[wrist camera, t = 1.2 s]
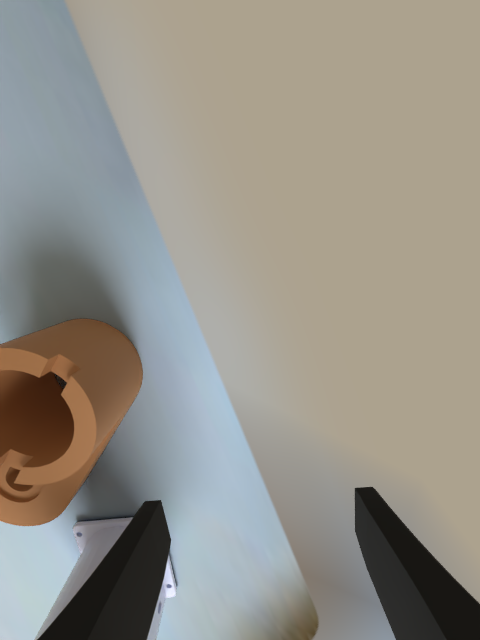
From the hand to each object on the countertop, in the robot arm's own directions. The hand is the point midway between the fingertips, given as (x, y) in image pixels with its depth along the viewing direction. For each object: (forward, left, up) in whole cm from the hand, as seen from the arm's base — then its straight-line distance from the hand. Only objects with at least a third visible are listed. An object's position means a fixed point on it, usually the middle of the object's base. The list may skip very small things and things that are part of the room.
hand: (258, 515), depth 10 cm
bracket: (-2, +16, -12) cm, 20 cm away
